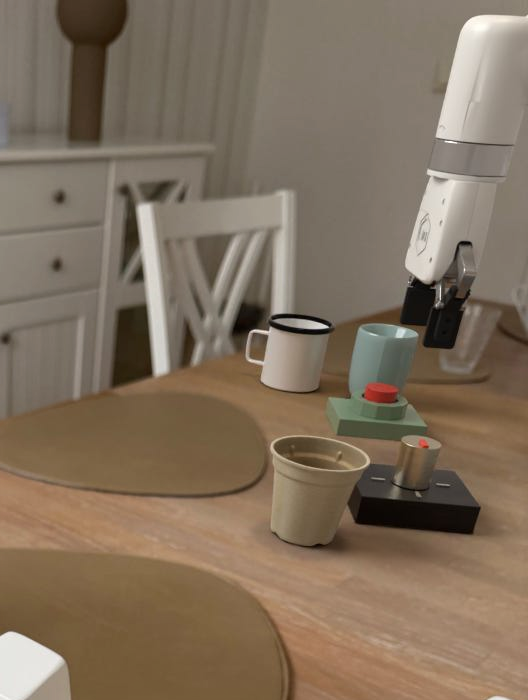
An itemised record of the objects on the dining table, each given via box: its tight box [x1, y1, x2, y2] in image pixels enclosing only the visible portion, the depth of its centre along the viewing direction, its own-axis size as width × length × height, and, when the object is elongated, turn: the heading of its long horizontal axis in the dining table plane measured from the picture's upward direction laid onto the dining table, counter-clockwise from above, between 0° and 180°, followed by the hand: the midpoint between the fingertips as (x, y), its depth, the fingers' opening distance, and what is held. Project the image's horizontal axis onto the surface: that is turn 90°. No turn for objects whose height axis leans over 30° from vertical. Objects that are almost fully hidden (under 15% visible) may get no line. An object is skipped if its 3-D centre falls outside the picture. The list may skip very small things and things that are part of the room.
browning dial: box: [391, 435, 442, 490], centre depth 102 cm, size 4×4×5 cm
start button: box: [363, 383, 398, 404], centre depth 126 cm, size 4×4×2 cm
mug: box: [245, 312, 336, 394], centre depth 140 cm, size 12×10×9 cm
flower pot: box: [269, 434, 371, 547], centre depth 96 cm, size 9×9×9 cm
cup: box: [348, 323, 420, 396], centre depth 135 cm, size 8×8×10 cm
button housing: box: [324, 390, 428, 442], centre depth 127 cm, size 11×9×4 cm
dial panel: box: [347, 462, 482, 535], centre depth 104 cm, size 12×10×3 cm
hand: (424, 335), depth 106 cm, fingers open, 9 cm apart
